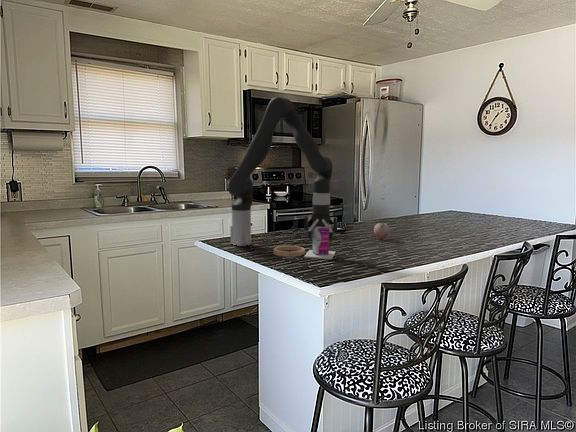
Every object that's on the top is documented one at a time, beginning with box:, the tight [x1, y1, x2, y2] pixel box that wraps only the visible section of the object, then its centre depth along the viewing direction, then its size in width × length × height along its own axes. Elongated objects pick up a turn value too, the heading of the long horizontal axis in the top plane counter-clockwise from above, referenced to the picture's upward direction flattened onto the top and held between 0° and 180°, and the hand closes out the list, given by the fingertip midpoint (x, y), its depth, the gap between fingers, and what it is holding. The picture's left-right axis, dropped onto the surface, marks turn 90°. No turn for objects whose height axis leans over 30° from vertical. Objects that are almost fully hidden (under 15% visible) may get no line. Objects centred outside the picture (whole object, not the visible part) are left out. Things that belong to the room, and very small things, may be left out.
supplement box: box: [312, 226, 330, 255], centre depth 180 cm, size 6×6×12 cm
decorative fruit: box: [373, 220, 391, 240], centre depth 217 cm, size 9×8×10 cm
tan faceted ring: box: [273, 245, 306, 258], centre depth 184 cm, size 14×14×2 cm
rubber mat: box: [303, 249, 337, 260], centre depth 181 cm, size 12×13×1 cm
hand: (320, 240), depth 180 cm, fingers open, 8 cm apart
